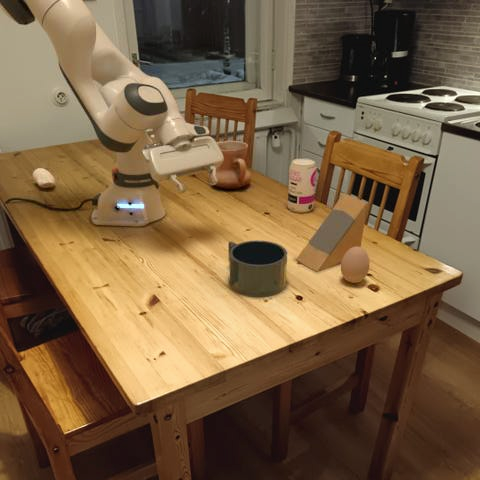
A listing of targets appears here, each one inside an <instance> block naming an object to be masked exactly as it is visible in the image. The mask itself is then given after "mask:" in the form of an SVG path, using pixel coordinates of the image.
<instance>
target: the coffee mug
mask: <svg viewBox="0 0 480 480" xmlns="http://www.w3.org/2000/svg"><path fill="white" fill-rule="evenodd" d="M228 263H229V264H228V265H229V285H230V287H231V289H232V290H234V292H236V293H239V294H240V295H243V296H246V297H251V298H252V297H253V298H264V297H270V296H274V295H277V294H279V293H280V292H282V291H283V290H284V289H285V287H286V282H287V281H286V280H287V265H288V251H287V249H286V248H285V247H284V246H283V245H281V244H279V243H276V242H272V241H269V240H247V241H243V242H239V243H236V242H234V241H232V240H231V241H229V242H228Z"/></svg>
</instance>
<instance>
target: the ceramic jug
mask: <svg viewBox="0 0 480 480" xmlns="http://www.w3.org/2000/svg"><path fill="white" fill-rule="evenodd" d="M216 143H217V145H218V146H219V148H220V150H221V152H222V154H223V157H224V159H223V162H222V164H221V165H220V167H218V168H216V174H215V176H216V178H217V181H218V182H217V184H215V185H214V186H216V187H218V188H221V189H228V190H229V189H231V190H234V189H239V188H243V187H245V186H247V185H248V184H249V183H250V182H251V179H252V175H251V173H250V171H249V170H248V169H247V164H246V161H245V160H246V157H247V154H248V149H249V145H248V143H247V142H244V141H239V140H238V141H237V140H225V141H216Z"/></svg>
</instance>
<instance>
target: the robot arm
mask: <svg viewBox="0 0 480 480" xmlns="http://www.w3.org/2000/svg"><path fill="white" fill-rule="evenodd" d="M0 9H1V11H2V12H3V13H4V14H5V15H6V16H7V17H8V18H9V19H11V20H12V21H14V22H15V23H17V24H18V25H22V26H27V25H30V24H32V23H34V22H35V21H37V22H38V24H39V25H40V27H41V28H42V29H43V31H45V33H46V35H47V36H48V38H49V40H50V42H51V43H52V46H53V48H54V51H55V53H56V56H57V61H58V62H57V63H58V67H59V70H60V72H61V73H62V76H63V78H64V80H65V82H66V83H67V85H68V87H69V88H70V91H72V93H73V95H74V96H75V98H76V100H77V101H78V103H79V105H80V106H81V108H82V109H83V111H84V113H85V114H86V116H87V118H88V120H89V121H90V123H91V125H92V127H93V130H94V133H95V134H96V137H97V139H98V140H99V143H100V144H101V145H102V146H103V147H104V148H105V149H106V150H109V151H111V152H114V153H115V156H116V162H117V167H113V168H111V169H112V170H111V178H112V179H111V180H112V183H111V184H110V185H109V186H107V188H105V190H103V191H102V192H101V193H98V194H96V195H95V196H93V197H92V198H86V199H84V200H83V201H81V202H80V204H79V205H77V206H75V207H69V208H67V207H57V206H56V207H54V206H50V205H48V204H46V203H42V202H41V201H38V200H35V199H30V198H22V197H11V198H8V199H7V200H5V201H4V204H8V203H9V202H11V201H23V202H29V203H34V204H38V205H40V206H42V207H45V208H48V209H50V210H54V211H65V212H66V211H67V212H69V211H76V210H79V209H81V208H83V205H84V204H86V203H88V202H91V205H92V207H96V208H95V209H94V210H93V211H92V213H91V214H90V215H91V217H90V219H91V222H92V224H94V225H96V226H118V227H119V226H120V227H145V226H146V225H148V224H150V223H152V222H153V223H154V222H156V221H159V220H161V219H163V218H165V216H166V209H165V208H164V204H163V202H162V196H161V193H160V182H164V181H168V184H169V185H171V186H172V187H174V188H176V190H177V192H178V193H179V194H183V193H186V191H187V187H186V184H185V183H184V182H182V183H181V182H180V181H179V180H178V179H177V178H180V177H181V178H182V177H185V176H189V175H194V174H198V173H201V172H202V173H203V172H206V171H207V174H209V178H208V179H207V182H208V183H209V185H210V186H216V185H215V184H217V182H218V181H217V178H216V176H215V174H216V168H218V167H220V165H221V164H222V162H223V159H224V157H223V154H222V152H221V150H220V148H219V146H218V145H217V141H216V140H215V138H213V137H211V136H210V129H209V128H208V127H207V126H203V125H197V124H193V123H190V122H187V121H186V119H185V118H184V116H182V114H181V112H180V107H179V105H178V103H177V101H176V99H175V96H173V93H172V92H171V91H170V89H169V88H168V86H167V84H166V83H165V82H164V81H163V80H162V79H161V78H160V77H156V76H150V75H148V74H146V73H145V72H144V71H142V70H141V69H140V68H139V67H137V66H136V65H135V64H134V63H133V62H132V61H131V60H130V59H128V58H127V56H125V55H124V54H123V52H121V51H120V50H119V49H118V48H117V46H115V44H114V43H113V42H112V40H111V39H110V38H109V36H108V35H107V34H106V33H105V32H104V30H103V29H102V27H101V26H100V25H99V24H98V22H97V21H96V19H95V18H94V17H93V15H92V12H91V11H90V8H88V6H87V5H86V4H85V2H84V1H83V0H0ZM95 82H96V83H98V84H99V85H100V86H101V87H100V88H99V89H98V86H97V85H96V83H95ZM147 129H151V130H152V135H154V137H155V139H156V141H157V143H155V144H154V141H153V139H152V138H151V137H150V136H149V135H148V133H147Z"/></svg>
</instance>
